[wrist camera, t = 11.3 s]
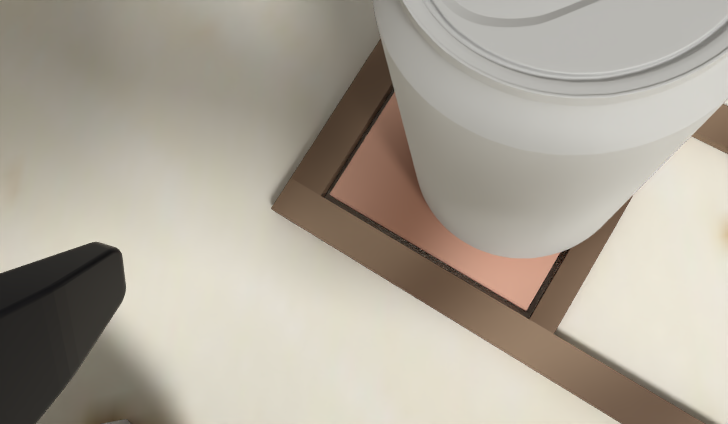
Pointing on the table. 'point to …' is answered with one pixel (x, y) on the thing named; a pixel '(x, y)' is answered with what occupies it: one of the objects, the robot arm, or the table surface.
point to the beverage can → (547, 107)
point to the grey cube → (119, 422)
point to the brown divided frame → (457, 247)
